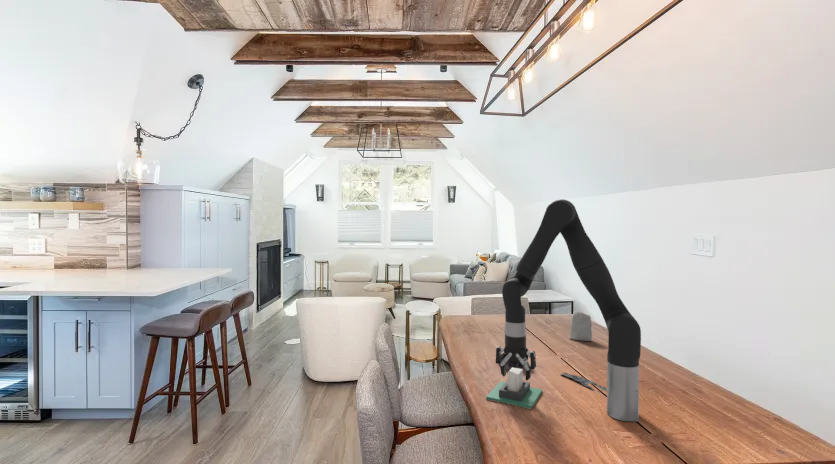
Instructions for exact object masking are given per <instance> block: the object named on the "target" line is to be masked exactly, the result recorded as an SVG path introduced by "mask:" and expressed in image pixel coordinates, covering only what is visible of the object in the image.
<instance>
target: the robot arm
mask: <svg viewBox="0 0 835 464" xmlns="http://www.w3.org/2000/svg"><path fill="white" fill-rule="evenodd" d="M559 234H560V235H561V236H562V238H563V239H564V241H565V244H566V246H567V249H568V253H569V256H570V261H571V263H572V266H573V268H574V270H575V271H576V274H577V275H578V277H579V279H580V281H581V283H582V285H584V287H585V289H586V291H587V292H588V293H589V295H590V296H591V297H592V298H593V300H594V301H595V302H596V303H595V304H597V307H598V308H599V310H600V312H601V314H602V317H603V320H604V322H605V326H606V329H607V331H608V346H607V348H608V349H607V355H606V358H607V359H606V362H607V363H606V365H607V367H606V368H607V369H606V372H607V373H606V377H607V378H606V389H607V391H606V414H607V415H608V416H609V417H610V418H613V419H615V420H618V421H623V422H639V418H640V417H639V415H640V414H639V413H640V412H639V411H640V409H639V408H640V399H639V398H640V385H639V383H640V377H639V376H640V358H641V347H642V345H641V344H642V343H641V342H642V331H641V330H642V329H641V326H640V324H639V322H638V321H637V320H636V318H635V317H634V316H633V315H632V314H631V311H629V310H628V308H627V307H626V305H625V303H624V302H623V300H622V299H621V298H620V296H619V293H618V291H617V287H616V286H615V283H614V280H613V277H612V275H611V273H610V270H609V268H608V266H607V264H606V263H605V261H604V258H603V257H602V255H601V254H600V253H599V250H598V249H597V248H596V246H595V244H594V243H593V242H592V240H591V238H590V236H588V234H587V231H586V230H585V228H584V226H583V223H582V220H581V219H580V216H579V214H578V212H577V208H576V207H575V204H574V203H572V202H571V201H569V200H568V199H567V200H566V199H556V200H554V201H552V202H550V203H549V204H548V205H547V206H546V209H545V212H544V214H543V217H542V220H541V221H540V225H539V227H538V229H537V231H536V234H535V236H534V237H533V239H532V241H531V242H530V244H529V245H528V247H527V248H526V250H525V252H524V253H523V255H522V256H521V258H520V260H519V261H518V263H517V266H516V273H515V275H514V277H513V278H511V279H508V280H506V281H505V282H504V283H503V286H502V289H501V294H502V301H503V304H504V308H505V312H504V313H505V317H504V318H505V319H504V320H505V321H504V322H505V323H504V347H502V346H501V345H499V346H498V347H496V348H495V350H496V351H495V364H497V365H499V366H500V365H501V366H500V375H502V377H506V375H507V369H506V365H505V363H506V362H507V361H508V360H510V361H512V362H513V361H515V362H521V364H522V365H523V366H524V367H525V381H526V382H528V381H529V380H530V379H531V378H532V372H531V371H532V370H535V369H536V367H537V360H536V359H537V358H536V351H535V350H532V351H529V350H528V351H527V350H526V348H527V327H526V326H527V325H526V308H525V307H524V305H522V297H523V296H525V295H526V294H527V292H528V291H530V290H529V289H530V287H531V286H532V283H533V280H534V277H535V276H536V274H537V273H538V271H539V270H540V268H541V266H542V264H543V263H544V261H545V259H546V257H547V255H548V253H549V251H550V248H551V246H552V244H553V243H554V241H555V240H556V238H557V237H558V236H559ZM503 353H505V354H506V357H505V359H504V360H503V361H502V360H501V354H503ZM526 355H528V360H527V359H526V357H525V356H526ZM529 359H530V363H529Z"/></svg>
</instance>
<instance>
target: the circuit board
mask: <svg viewBox="0 0 835 464" xmlns="http://www.w3.org/2000/svg"><path fill="white" fill-rule="evenodd" d="M542 393H543V389H541V388H538V387H533V386H532V387H531V382H530V381H529V382H528V381H523V388H522V389H521V390H520V392H514V391H509V390H508V379H507V380H506V381H499V382H498V383H497V384H496V385H495V386H494V388H492V389H491V391H490V392H489V393H488V394H486V396H485V397H486V398H485V400H487V399H489V400H488V401H491V400H495V401H494V402H496V401H499V402H498V403H500V402H504V403H503V404H505V403H509V404H508V405H510V404H513V405H512V406H514V405H517V406H516V407H519V406H521V407H520V408H523V407H525V409H528V408H530V409H529V410H532V409H533V408H534V406H535V404H536V403H537V401H538V399H539V398H540V396H541V394H542ZM532 407H533V408H532Z"/></svg>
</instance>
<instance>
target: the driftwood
mask: <svg viewBox="0 0 835 464" xmlns="http://www.w3.org/2000/svg"><path fill="white" fill-rule="evenodd" d="M560 376H565V377H567V378H571V379H572V380H573V381H576V382H579V384H581V385H582V386H585V387H586V388H589V389H590V390H591V391H596V390H595V389H594V388H592V386H590V385H589V384H591V385H593V386H597V388H598V389H600V390H597V391H596V392H598V393H599V394H601V393H602V392H604V391H605V392H607V387H606V386H602V385H599V384H597V383H596V382H594V381H592V380H589V379H588V378H587V379H586V378H585V377H583V376H579V375H575V374H571V373H567V372H562V373H560ZM601 391H602V392H601Z"/></svg>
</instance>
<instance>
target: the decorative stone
mask: <svg viewBox="0 0 835 464" xmlns="http://www.w3.org/2000/svg"><path fill="white" fill-rule="evenodd" d="M571 316H572V317H571V323H570V331H569V338H570V340H573V341H575V340H576V341H584V342H585V341H586V342H591V341H592V339H593V333H592V331H593V330H592V326H593V325H592V320H591V319H592V318H591V316H590V315H589V314H586V313H584V312H582V311H579V310H575V311H573V313H572V315H571Z"/></svg>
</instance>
